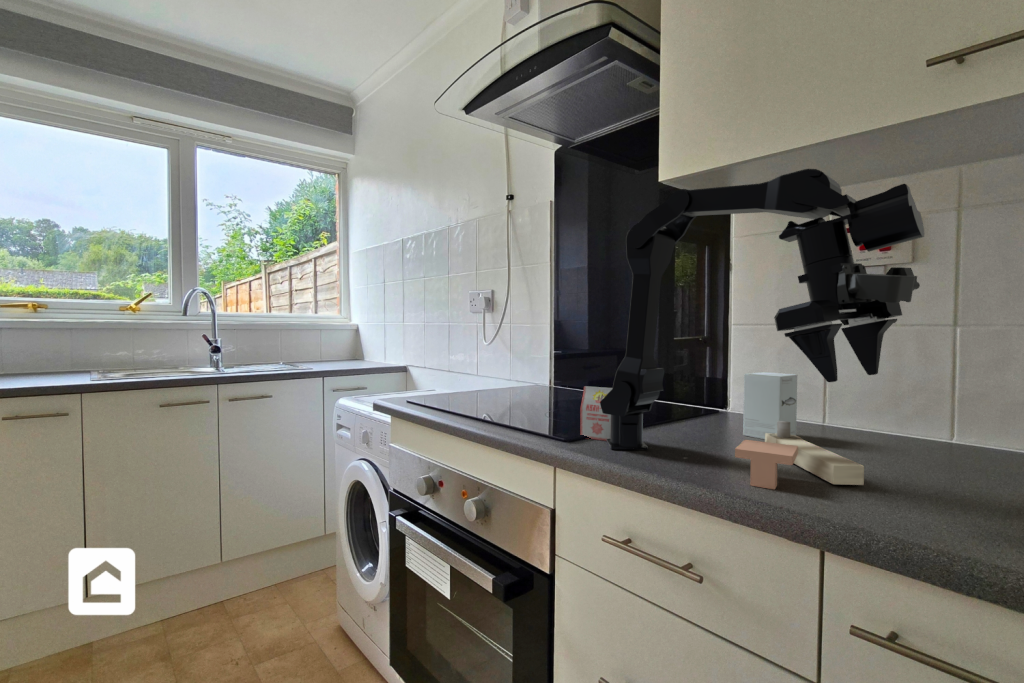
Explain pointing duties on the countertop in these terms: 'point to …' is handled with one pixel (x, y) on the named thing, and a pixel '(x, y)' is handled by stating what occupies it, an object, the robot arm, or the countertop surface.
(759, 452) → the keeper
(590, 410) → the white printed box
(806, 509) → the countertop surface
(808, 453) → the link
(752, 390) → the supplement box
